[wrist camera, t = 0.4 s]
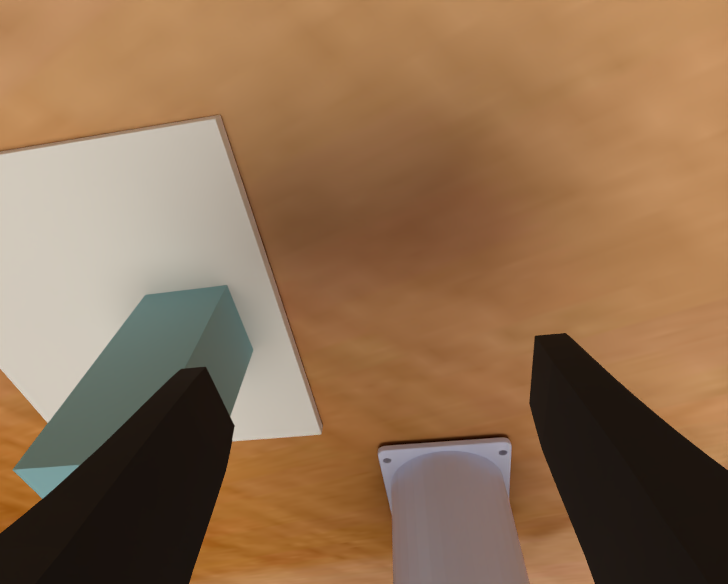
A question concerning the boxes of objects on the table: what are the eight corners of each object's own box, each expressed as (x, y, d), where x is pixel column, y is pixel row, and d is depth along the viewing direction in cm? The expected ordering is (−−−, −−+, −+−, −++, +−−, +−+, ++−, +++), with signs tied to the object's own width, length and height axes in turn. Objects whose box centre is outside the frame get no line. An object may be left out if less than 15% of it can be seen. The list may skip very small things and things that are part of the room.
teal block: (253, 349, 22) (190, 531, 15) (179, 357, 23) (82, 537, 15) (227, 284, 20) (137, 460, 13) (145, 294, 20) (12, 469, 13)
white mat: (322, 426, 26) (321, 434, 26) (79, 445, 28) (74, 453, 28) (219, 114, 16) (215, 118, 16) (-148, 176, 18) (-163, 181, 18)
